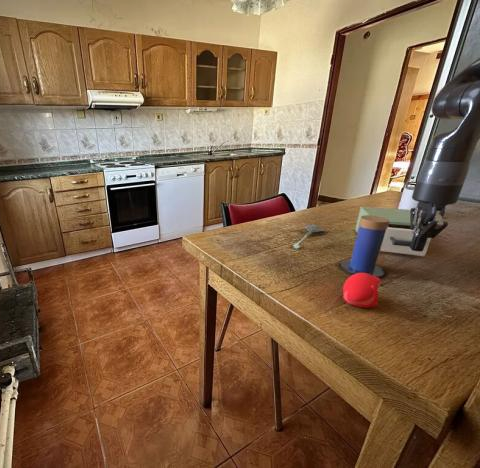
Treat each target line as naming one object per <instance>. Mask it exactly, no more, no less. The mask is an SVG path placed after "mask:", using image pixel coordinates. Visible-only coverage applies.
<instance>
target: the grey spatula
mask: <svg viewBox="0 0 480 468" xmlns="http://www.w3.org/2000/svg"><path fill="white" fill-rule="evenodd" d="M304 228H305V229H306V230H307V232H306V234H304V236H303V237H302V238H301V239H300V240H298V242H297V243H293V248H294V249H300V248H301V247H300V246H301V244H303V242H304V241H305V240H306V239H307V238H308V237H309V236H310V235H311V234H312V233H319V232H325V231H326V229H325V228H324V227H323V226H321V225H317V224H306V225H305V226H304Z"/></svg>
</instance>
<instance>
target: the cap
mask: <svg viewBox="0 0 480 468" xmlns="http://www.w3.org/2000/svg"><path fill="white" fill-rule="evenodd" d="M381 282H382V280H381V279H380V278H378V277H375V276H372V275H370V274H367V273H357V274H351V275H350V276H349V277H348V278H347V279H346V280H345V282H344V284H343V288H342V291H343V296H342V297H343V299H344V301H345V302H346V303H347V304H349V305H352V306H354V307H359V308H372V307H377V306H378V305H379V302H378V300H379V298H380V296H379V295H380V294H379V291H378V289H379V284H381Z"/></svg>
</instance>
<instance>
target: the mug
mask: <svg viewBox="0 0 480 468" xmlns="http://www.w3.org/2000/svg"><path fill="white" fill-rule="evenodd" d="M414 189H415V186H406V187H404V188H403V190H402V194H401V198H400V200H399V204H398V208H397V209H407V210H409V211H410V210H411V208H416V207H417V204H418V203H419V202H418V201H415V200H413V199H412V195H413V192H414Z"/></svg>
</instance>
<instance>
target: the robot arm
mask: <svg viewBox="0 0 480 468" xmlns="http://www.w3.org/2000/svg"><path fill="white" fill-rule="evenodd" d="M431 113H432V116H433V117H435V118H436V119H439V120H447V121H448V120H461V121H459V123H458V124H457V126H456V127H454V128H453V129H450V130H447V131H441V132H439V133H436V134H435V135H434V136H433V137H432V138H431V141H430V143H429V147H428V149H427V152H426V155H425V160H424V162H423V164H422V166H421V168H420V171H419V173H418V177H417V180H416V182H415V185H414V187H415V189H414V192H413V195H412V199H413V200H415V201H418V202H419V203H418V204H417V207H416V208H411V210H410V229H411V230H413V232H412V233H413V238H412V241H411V244H410V248H411V249H412V250H413V251H419V252H421V251H423V250H424V247H425V244H426V241H427V238H431V239H435V238H436V237H437V236H438V235H439V234H440V233H441V232H443V230H445V229H446V228H447V227H448V223H449V222H448V221H444V220H443V218H444V216H445V212H446V206H449V205H454V204H456V203H457V202H458V200H459V197H460V195H461V192H462V190H463V187H464V184H465V181H466V178H467V176H468V174H469V170H470V165H471V161H472V158H473V155H474V153H475V151H476V149H477V145H478V143H479V141H480V56H479V57H478V58H476V59H475V60H473V62H471V63H469V64H468V65H467V66H466V67H464V69H463V70H461V71H460V72H459V73H458V74H456V75H455V76H454V77H453V78H452V79H451V80H449V81H448V82H447V83H446V84H445V85H444V86H442V88H441V89H440V90H439V91H438V93H437V94H436V95H435V96H434V99H433V101H432V103H431Z"/></svg>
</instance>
